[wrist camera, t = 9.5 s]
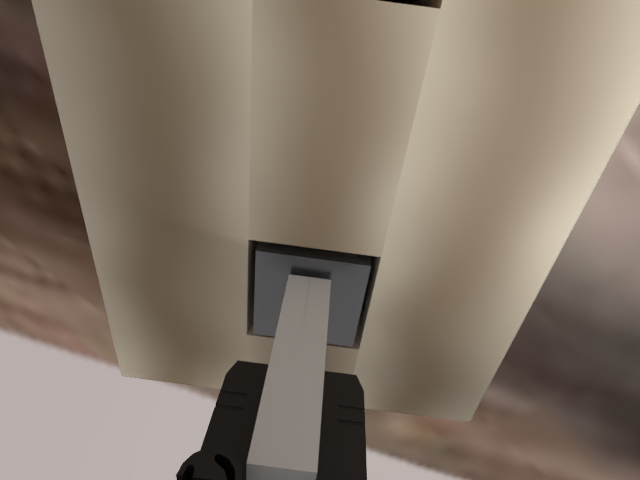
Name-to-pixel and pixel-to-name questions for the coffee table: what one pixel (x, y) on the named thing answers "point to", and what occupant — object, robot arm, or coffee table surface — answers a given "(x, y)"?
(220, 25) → the press block
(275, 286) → the graphite peg
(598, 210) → the coffee table surface
